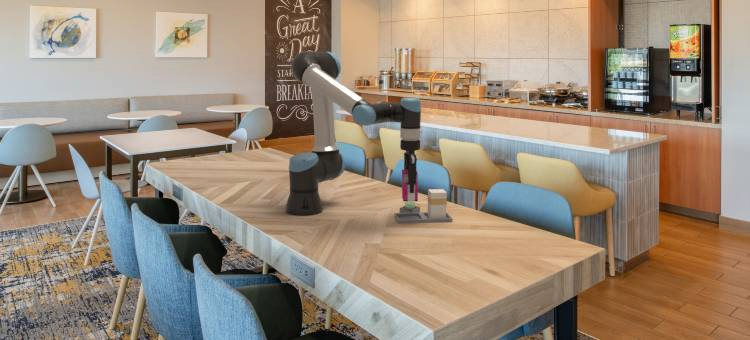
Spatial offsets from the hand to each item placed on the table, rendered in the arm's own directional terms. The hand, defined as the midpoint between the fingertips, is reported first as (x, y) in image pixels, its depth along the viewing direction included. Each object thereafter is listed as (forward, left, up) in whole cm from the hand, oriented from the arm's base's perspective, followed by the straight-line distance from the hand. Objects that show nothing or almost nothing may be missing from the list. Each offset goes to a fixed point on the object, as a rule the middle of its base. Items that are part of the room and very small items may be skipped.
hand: (409, 198), depth 222 cm
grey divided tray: (+4, +4, -9) cm, 11 cm away
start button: (-5, +9, -9) cm, 13 cm away
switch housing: (-5, +9, -9) cm, 14 cm away
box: (+8, +7, -8) cm, 14 cm away
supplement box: (0, 0, -1) cm, 1 cm away
